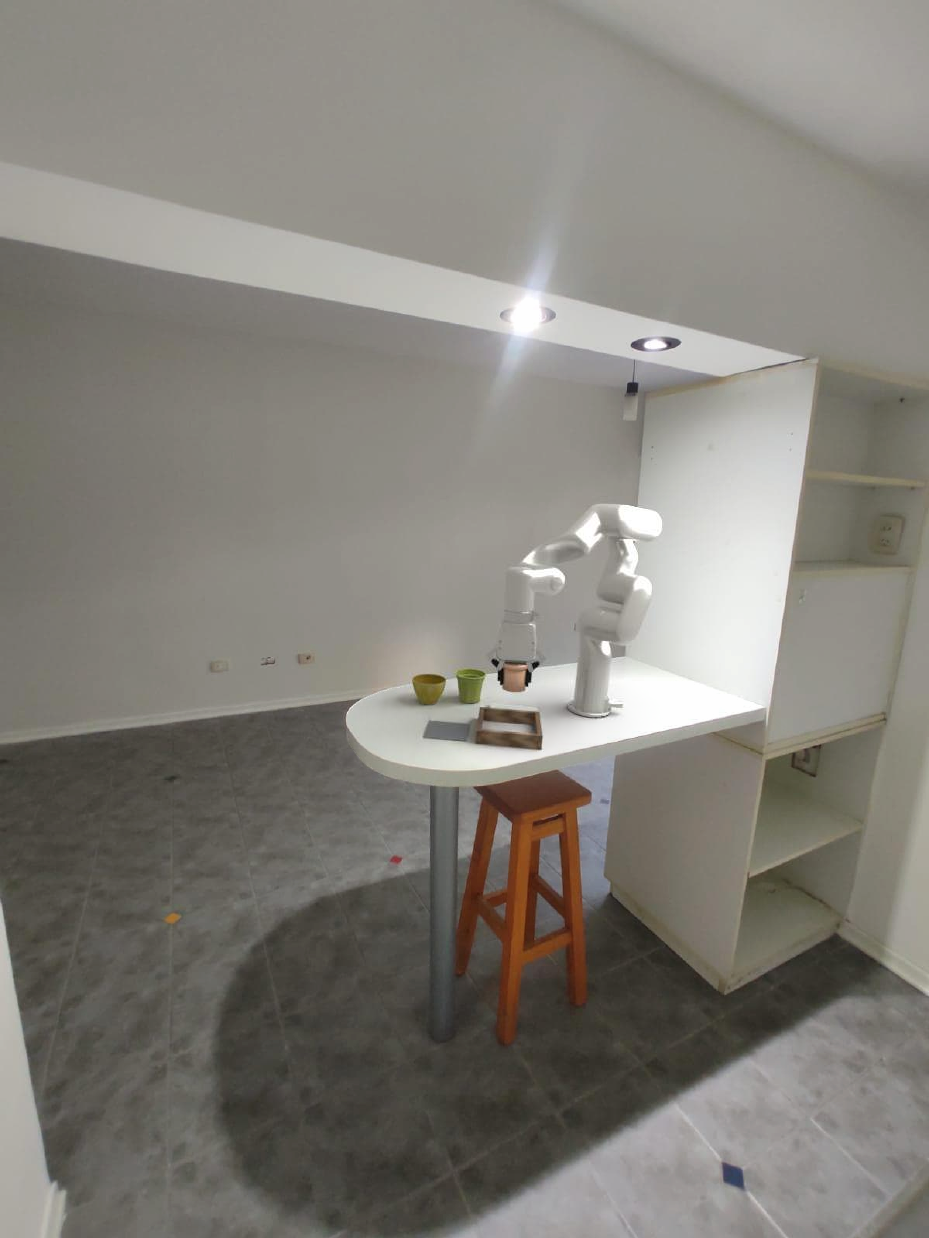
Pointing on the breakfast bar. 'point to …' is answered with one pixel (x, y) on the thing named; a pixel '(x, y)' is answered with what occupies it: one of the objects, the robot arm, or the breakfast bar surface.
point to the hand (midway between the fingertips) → (514, 683)
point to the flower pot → (428, 687)
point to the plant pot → (470, 684)
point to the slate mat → (447, 730)
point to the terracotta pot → (514, 676)
